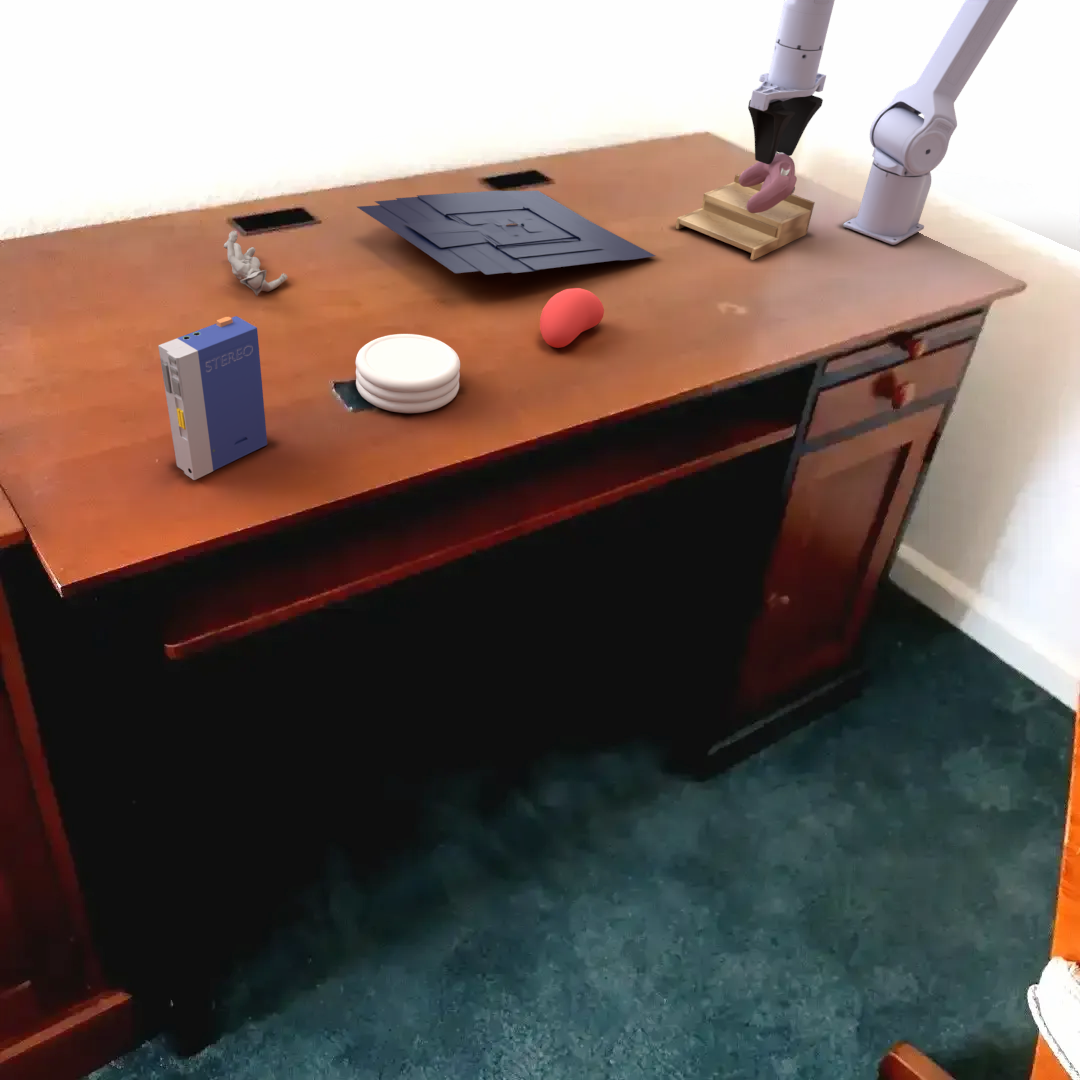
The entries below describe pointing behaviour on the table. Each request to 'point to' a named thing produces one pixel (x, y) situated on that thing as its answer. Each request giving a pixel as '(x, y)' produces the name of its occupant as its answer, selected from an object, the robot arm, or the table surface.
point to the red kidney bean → (569, 316)
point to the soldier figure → (249, 267)
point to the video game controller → (770, 182)
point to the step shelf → (749, 219)
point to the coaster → (407, 373)
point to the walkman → (214, 395)
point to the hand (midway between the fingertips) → (773, 157)
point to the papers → (500, 231)
